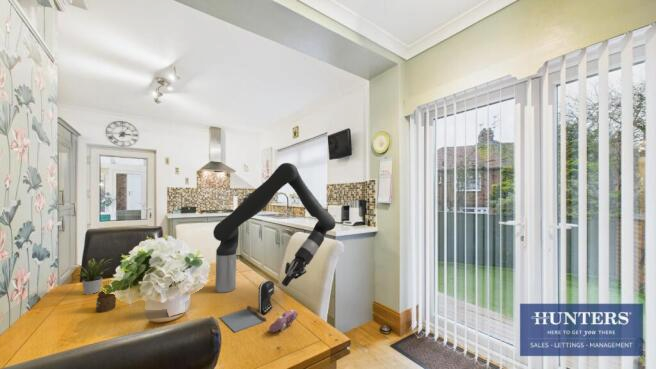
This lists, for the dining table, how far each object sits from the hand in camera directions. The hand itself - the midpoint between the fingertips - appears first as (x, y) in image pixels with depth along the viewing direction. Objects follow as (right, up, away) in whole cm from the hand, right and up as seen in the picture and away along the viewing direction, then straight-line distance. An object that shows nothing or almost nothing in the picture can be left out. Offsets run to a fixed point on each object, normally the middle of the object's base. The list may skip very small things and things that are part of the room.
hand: (283, 285), depth 107 cm
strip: (-9, -8, -9) cm, 15 cm away
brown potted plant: (-71, -8, -5) cm, 72 cm away
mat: (-14, -8, -13) cm, 20 cm away
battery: (-6, -8, -6) cm, 12 cm away
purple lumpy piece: (+3, -8, -18) cm, 20 cm away
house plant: (-91, -9, +13) cm, 93 cm away
